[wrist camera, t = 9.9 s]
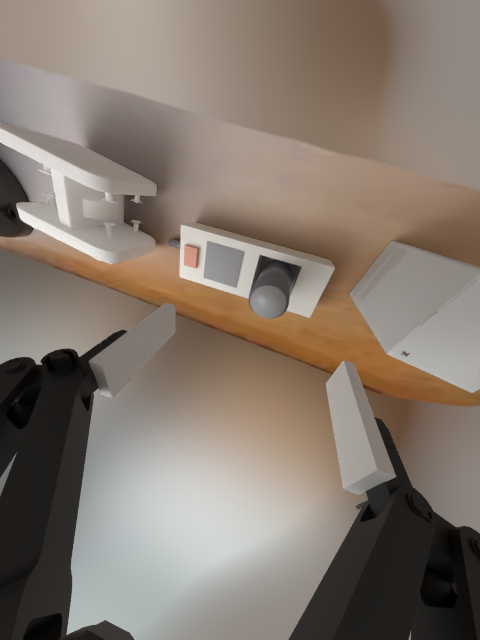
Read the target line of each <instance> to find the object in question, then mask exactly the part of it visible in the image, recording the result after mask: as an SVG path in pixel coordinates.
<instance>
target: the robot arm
mask: <svg viewBox="0 0 480 640" xmlns="http://www.w3.org/2000/svg"><path fill="white" fill-rule="evenodd" d="M19 202H28V200H27V197H26V195H25V193H24V191H23V190H22V188H21V186H20V185H19V183H18V182H17V180H16V179H15V177H14V176H13V175H12V173H11V172H10V171H9V170H8V168H7V167H6V166H5V165H4V164H3V163H2V162H1V161H0V236H1V237H22V236H27V235H29V234H30V233H31V231H32V229H33V227H32V226H31V225H29V224H27V223H25V222H23V221H22V220H21V219H20V217H19V214H18V210H17V207H16V204H17V203H19ZM174 333H175V305H172V304H169V303H165V304H164V305H162V306H161V307H160V308H158V309H157V310H156V311H155V312H153V313H152V314H151V315H149V316H148V317H147V318H145V319H144V320H143V321H141V322H140V323H139V324H137V325H136V326H135V327H133V328H132V329H131V330H129V331H125V330H121V331H118V332H116V333H113V334H112V335H111V336H109V337H108V338H107V339H105V340H103V341H102V342H101V343H100V344H98V345H96V346H95V347H93V348H92V349H91V350H89V351H88V352H86V353H85V354H84V355H82V356H81V357H78V354H77V352H76V351H75V350H72V349H60V350H55V351H53V352H51V353H49V354H47V355H46V356H44V357H43V358H42V360H41V363H42V365H36V363H35V361H34V360H33V359H31V358H28V357H20V358H15V359H11V360H9V361H6V362H4V363H3V364H1V365H0V477H1V476H2V474H3V473H4V471H5V470H6V468H7V467H8V465H9V463H10V462H11V460H12V459H13V457H14V456H15V454H16V453H17V454H16V457H15V459H14V462H13V465H12V467H11V470H10V472H9V475H8V478H7V480H6V483H5V486H4V488H3V491H2V494H1V496H0V640H134V639H133V637H132V636H131V634H130V633H129V632H127V631H125V630H123V629H121V628H119V627H117V626H115V625H113V624H112V623H109V622H108V621H106V620H105V621H103V622H101V623H99V624H97V625H91V626H87V627H83V628H81V629H79V630H77V631H74V632H72V633H70V634H68V635H66V633H67V626H68V618H69V609H70V602H71V593H72V574H71V557H72V550H73V543H74V536H75V528H76V521H77V514H78V507H79V500H80V493H81V485H82V478H83V471H84V464H85V456H86V449H87V441H88V435H89V427H90V421H91V413H92V406H93V399H94V394H93V392H94V391H96V390H97V388H99V391H100V393H101V394H102V395H105V396H107V397H110V398H113V397H114V396H115V395H116V394H117V393H118V392H119V391H120V390H121V389H122V388H123V387H124V386H125V385H126V384H127V383H128V382H129V381H130V379H131V378H132V377H133V376H134V375H135V374H136V373H137V372H138V371H139V370H140V369H141V368H142V367H143V366H144V365H145V364H146V363H147V361H149V359H150V358H151V357H152V356H153V355H154V354H155V353H156V352H157V351H158V350H159V349H160V348H161V347H162V346H163V345H164V343H166V342H167V341H168V339H169V338H170V337H171V336H172V335H173V334H174ZM326 389H327V394H328V400H329V407H330V412H331V418H332V424H333V430H334V436H335V442H336V448H337V454H338V460H339V466H340V471H341V477H342V483H343V489H344V490H347V491H349V492H352V493H355V494H357V495H360V494H362V493H364V492H366V493H367V496H368V500H367V501H365V502H363V503H361V504H359V505H357V506H356V507H357V509H360V508H362V509H361V510H360V512H359V514H358V516H357V518H356V519H355V521H354V523H353V525H352V527H351V528H350V530H349V532H348V534H347V536H346V538H345V539H344V541H343V543H342V545H341V546H340V549H339V550H338V552H337V554H336V555H335V557H334V559H333V561H332V563H331V564H330V566H329V568H328V570H327V572H326V574H325V575H324V577H323V579H322V581H321V582H320V584H319V586H318V588H317V590H316V592H315V593H314V595H313V597H312V599H311V600H310V602H309V604H308V606H307V608H306V610H305V611H304V613H303V615H302V617H301V618H300V620H299V622H298V624H297V626H296V627H295V629H294V631H293V633H292V635H291V636H290V638H289V640H408V639H409V635H410V631H411V640H480V534H479V533H478V532H477V531H475V530H474V529H472V528H470V527H466V526H462V527H455V526H453V525H452V524H450V523H449V522H448V521H446V520H445V519H443V518H442V517H441V516H439V515H438V514H436V513H435V512H433V510H432V508H431V506H430V505H429V503H428V502H427V500H426V499H425V498H424V497H423V496H422V495H421V494H420V493H419V492H418V491H417V490H415V489H414V488H413V487H412V485H411V483H410V480H409V478H408V475H407V473H406V471H405V468H404V466H403V463H402V461H401V459H400V456H399V454H398V451H396V447H395V444H394V442H393V439H392V437H391V435H390V432H389V430H388V428H387V427H386V426H385V424H384V423H383V421H382V420H381V419H378V418H375V417H374V415H373V413H372V410H371V408H370V405H369V402H368V399H367V397H366V394H365V392H364V389H363V386H362V383H361V380H360V378H359V375H358V372H357V370H356V367H355V364H353V363H350V362H347V361H344V360H343V362H342V363H341V364H340V366H339V367H338V368H337V370H336V371H335V372H334V374H333V375H332V376H331V377H330V379H329V380H328V381H327V383H326Z"/></svg>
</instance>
